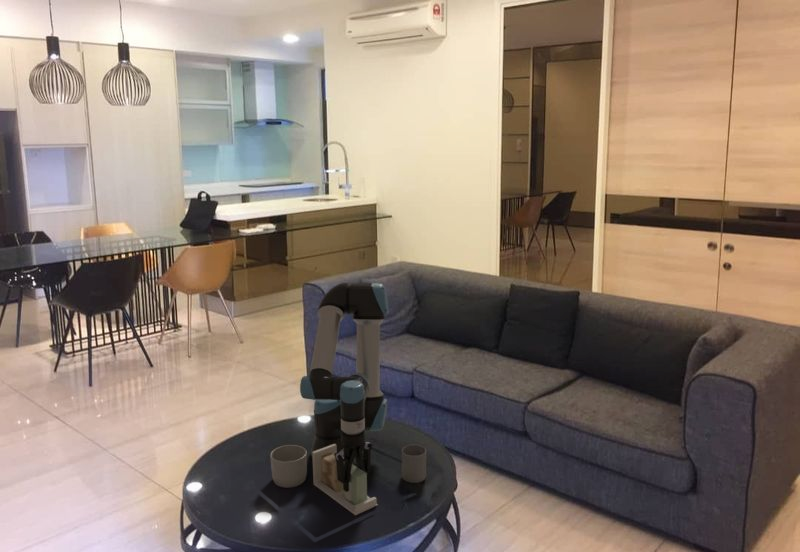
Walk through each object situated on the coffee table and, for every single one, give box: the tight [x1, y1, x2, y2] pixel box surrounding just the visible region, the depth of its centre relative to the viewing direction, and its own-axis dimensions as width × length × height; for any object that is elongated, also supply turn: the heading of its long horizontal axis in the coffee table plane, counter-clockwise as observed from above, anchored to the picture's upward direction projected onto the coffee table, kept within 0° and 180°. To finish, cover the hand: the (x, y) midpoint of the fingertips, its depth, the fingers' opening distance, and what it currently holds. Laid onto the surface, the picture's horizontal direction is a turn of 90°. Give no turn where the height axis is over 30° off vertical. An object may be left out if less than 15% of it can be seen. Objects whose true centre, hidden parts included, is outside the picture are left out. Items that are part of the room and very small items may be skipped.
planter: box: [269, 444, 308, 489], centre depth 225 cm, size 12×12×11 cm
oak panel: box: [321, 453, 342, 493], centre depth 220 cm, size 8×4×10 cm, turn 40°
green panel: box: [342, 463, 368, 505], centre depth 211 cm, size 8×4×10 cm, turn 40°
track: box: [312, 444, 379, 516], centre depth 215 cm, size 24×9×13 cm, turn 40°
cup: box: [401, 444, 427, 484], centre depth 228 cm, size 8×8×10 cm
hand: (354, 496), depth 212 cm, fingers closed on green panel, 4 cm apart
